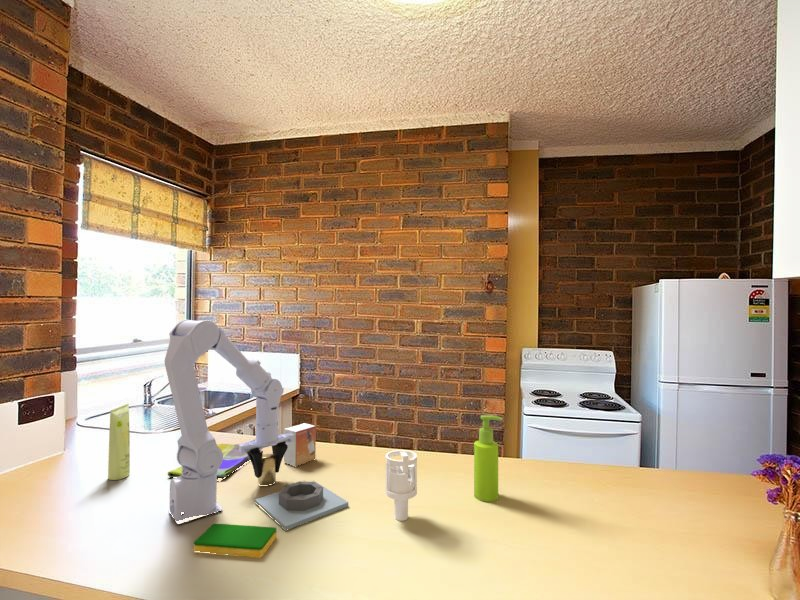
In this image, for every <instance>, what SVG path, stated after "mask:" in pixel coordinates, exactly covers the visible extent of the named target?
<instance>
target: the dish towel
mask: <svg viewBox="0 0 800 600" xmlns="http://www.w3.org/2000/svg"><path fill="white" fill-rule="evenodd" d="M216 444H217V446H218V447H219V448H220V449H221V451H222V453H223V461H222V464H221V466H220V467H219V469H218V470H217V480H218V478H224V477H227V476H228V475H230V474H231V473H232V472H233V471H235V470H236V469H237V468H239V467H240V466H242V465H243V464H244V463H245V462H247V461H249V460H250V458H249V456H248V454H247V452H245V453H243V454H241V453H239V444H240V443H237V444H229V443H216ZM263 449H264V448H260V449H259V450H260V452H262V453H263ZM180 475H182V466H181V465H180V466H179V467H177V468H174V469H171V470H169V471H167V476H168V477H169V478H170V477H179V476H180ZM227 478H228V477H227Z"/></svg>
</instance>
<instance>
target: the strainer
mask: <svg viewBox="0 0 800 600" xmlns="http://www.w3.org/2000/svg"><path fill="white" fill-rule="evenodd" d="M395 456H401V460H400V459H399V460H398V459H393V457H395ZM409 457H410V459H409ZM417 463H418V454H417V453H416V452H415V451H411V450H407V449H396V450H395V449H394V450H391V451H388V452H386V454H385V495H386V496H387V498H390V499H392V500H394V502H393V503H394V508H393V509H394V513H393V514H394V516H393V518H394V519H395V521H398V522H399V521H400V522H403V521H406V520H408V519H409V500H411V499H413V498H415V497H416V496H417V494H418V487H417V486H418V483H417V482H418V481H417V480H418V475H417V473H418V469H417V468H418V464H417Z"/></svg>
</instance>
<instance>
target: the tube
mask: <svg viewBox="0 0 800 600" xmlns="http://www.w3.org/2000/svg"><path fill="white" fill-rule="evenodd" d="M129 407H130V406H129V403H128V402H127V403H126V404H123V405H121V406H118V407H116V408H113V409H111V410H110V415H109V434H108V435H109V438H108V462H107V464H108V466H107V467H108V468H107V469H108V470H107V479H108V480H111V481H118V480H121V479H125V478H126V477H127V478H128V476H130V471H131V470H130V466H131V462H130V461H131V459H130V457H131V455H130V453H131V452H130V451H131V450H130V449H131V448H130V446H131V445H130V443H131V441H130V438H131V436H130V434H131V433H130V409H129Z"/></svg>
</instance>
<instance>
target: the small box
mask: <svg viewBox="0 0 800 600" xmlns="http://www.w3.org/2000/svg"><path fill="white" fill-rule="evenodd" d="M316 429H317V426H316V425H313V424H311V423H310V424H309V423H307V422H306V423H305V422H304V423H300V424H297V425H294V426H290V427H285V428H284V429H283V432H284V433H283V434H288V433H291V434H293V435H294V441H293V442H286V445H288V448H287V450H286V452H285V454H284V456H283V463H284V462H285V463H288V464H290V465H289V466H291V465H293V466H292V467H294V466H297V467H299V466H301V464H302V465H304V464H307V463H309V462H308V461H310V462H312V461H311V460H314V459H315V460H316V445H317V444H316V443H317V439H316V435H317V433H316V432H317V430H316ZM315 460H314V461H315ZM306 462H307V463H306ZM285 463H284V464H285ZM303 463H304V464H303ZM288 464H287V465H288ZM298 465H299V466H298Z"/></svg>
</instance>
